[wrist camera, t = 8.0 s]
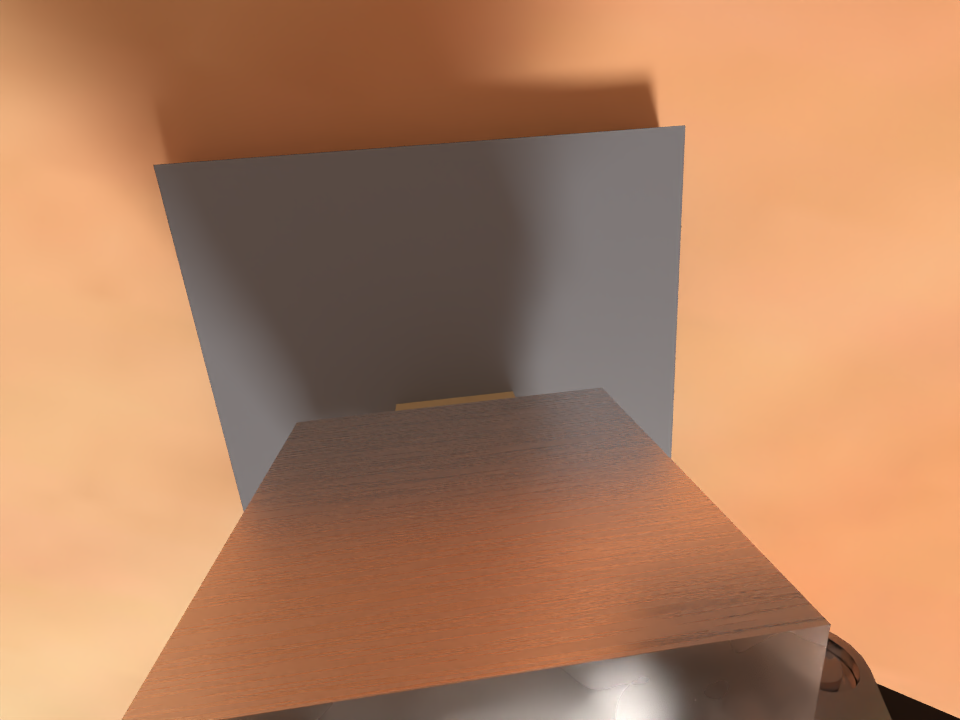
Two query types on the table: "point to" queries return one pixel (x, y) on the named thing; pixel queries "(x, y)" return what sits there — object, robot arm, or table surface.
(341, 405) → the post base
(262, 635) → the pale block
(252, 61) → the table surface
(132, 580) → the table surface
